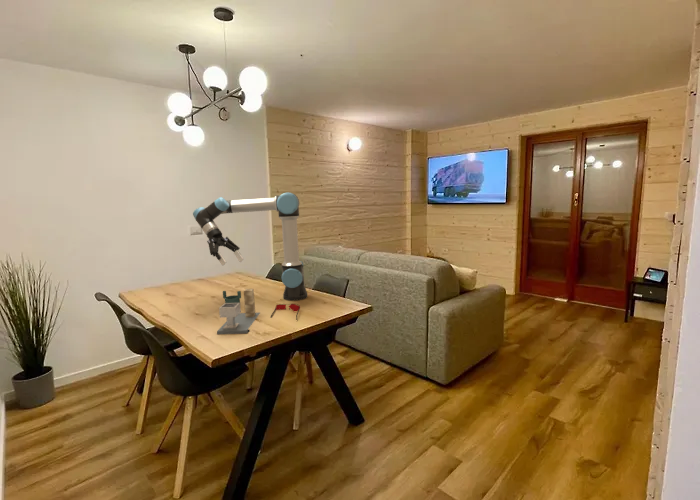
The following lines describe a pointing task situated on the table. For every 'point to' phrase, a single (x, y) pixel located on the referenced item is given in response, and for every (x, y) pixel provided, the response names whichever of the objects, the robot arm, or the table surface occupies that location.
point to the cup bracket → (230, 314)
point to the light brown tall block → (249, 302)
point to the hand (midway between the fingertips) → (233, 262)
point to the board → (243, 326)
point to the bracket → (232, 297)
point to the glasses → (292, 306)
